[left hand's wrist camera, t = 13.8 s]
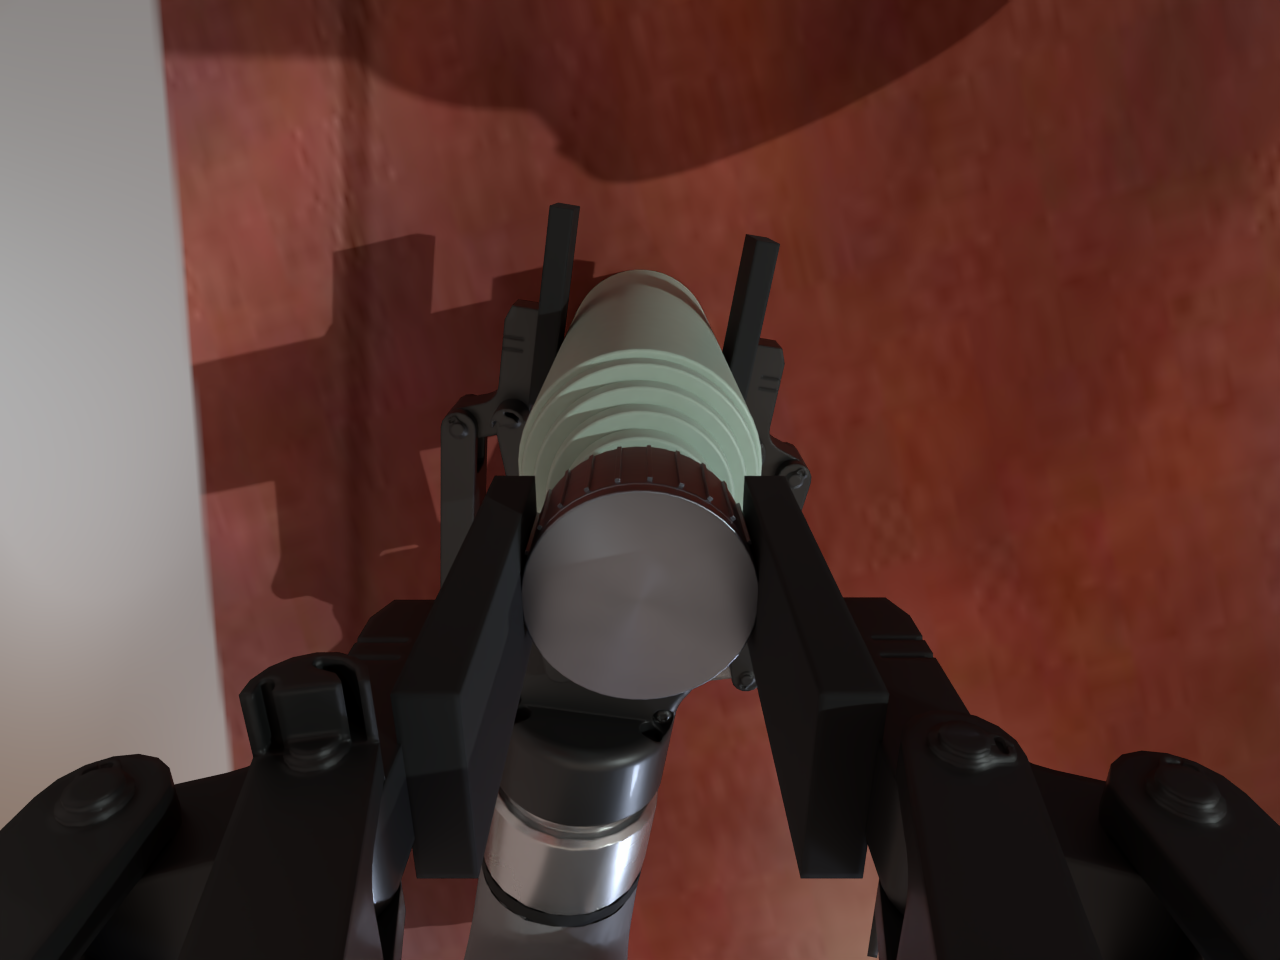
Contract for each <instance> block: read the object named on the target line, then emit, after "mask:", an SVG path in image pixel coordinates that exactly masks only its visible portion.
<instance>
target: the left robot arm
mask: <svg viewBox="0 0 1280 960" xmlns="http://www.w3.org/2000/svg"><path fill="white" fill-rule="evenodd" d="M742 512H743V515H744V519H745V522H746V525H747V529H748V532H749V535H750V538H751V542H752V544H750V548H751V551H752V555H753V558H754V561H755V565H756V568H757V573H758V577H759V585H758V601H757V616H756V624H755V626H754V629H753V631H752V634H751V636H750V638H749V639H748V641H747V645H748V649H749V654H750V658H751V662H752V667H753V671H754V675H755V680H756V684H757V689H758V693H759V697H760V702H761V706H762V711H763V715H764V719H765V724H766V728H767V732H768V737H769V741H770V746H771V750H772V754H773V759H774V763H775V768H776V772H777V776H778V781H779V785H780V789H781V794H782V798H783V803H784V807H785V811H786V816H787V820H788V824H789V829H790V833H791V838H792V842H793V846H794V851H795V855H796V860H797V864H798V868H799V873H800V877H801V878H863V873H864V866H865V859H866V852H867V845H868V847H869V849H870V852H871V855H872V858H873V861H874V864H875V867H876V870H877V873H878V876H879V884H878V890H877V897H876V903H875V909H874V916H873V922H872V929H871V935H870V942H869V948H868V955H867V956H870V957H875V958H877V955H878V954H879V960H1280V826H1279V825H1278V824H1277V823H1276V822H1275V821H1274V820H1273V819H1272V818H1271V817H1270V816H1269V815H1268V814H1266V813H1265V812H1264V811H1263V810H1262V809H1261V808H1260V807H1259V806H1258V805H1257V804H1256V803H1255V802H1254V801H1253V800H1252V799H1251V798H1250V797H1249V796H1248V795H1247V794H1246V793H1244V792H1243V791H1242V790H1241V789H1239V788H1238V787H1237V786H1235V785H1234V784H1233V783H1231V782H1230V781H1229V780H1228V779H1226V778H1225V777H1224V776H1222V775H1220V774H1218V773H1216V772H1214V771H1212V770H1210V769H1208V768H1206V767H1204V766H1202V765H1200V764H1198V763H1196V762H1194V761H1191V760H1188V759H1185V758H1181V757H1178V756H1174V755H1171V754H1168V753H1160V752H1150V751H1138V752H1133V753H1127V754H1122V755H1121V756H1120V757H1119V758H1118V759H1117V760H1115V761H1114V762H1113V763H1112V764H1111V766H1110V770H1109V773H1108V777H1107V780H1106V781H1101V780H1097V779H1092V778H1088V777H1083V776H1079V775H1074V774H1070V773H1065V772H1061V771H1056V770H1052V769H1049V768H1045V767H1042V766H1039V765H1035V764H1032V763H1030V762H1029V761H1028V758H1027V756H1026V755H1025V753H1024V752H1023V750H1022V748H1021V747H1020V745H1019V744H1018V742H1017V741H1016V740H1015V739H1014V738H1012V737H1011V736H1010V735H1009V734H1007V733H1006V732H1005V731H1004V730H1002V729H1001V728H1000V727H999V726H997V725H994V724H992V723H990V722H988V721H986V720H984V719H982V718H979V717H977V716H974V715H970V713H969V712H968V710H967V708H966V707H965V705H964V703H963V702H962V700H961V699H960V697H959V695H958V694H957V692H956V690H955V689H954V687H953V685H952V684H951V682H950V681H949V679H948V677H947V676H946V674H945V672H944V671H943V669H942V668H941V666H940V664H939V663H938V661H937V659H936V658H933V653H932V651H931V650H930V648H929V646H928V645H927V643H926V641H925V640H922V635H921V633H920V632H919V630H918V628H917V627H916V625H915V623H914V622H913V620H912V618H911V617H910V615H908V614H907V613H906V612H904V611H903V610H902V609H900V608H899V607H898V606H896V605H895V604H893V603H892V602H891V601H889V600H888V599H887V598H843V597H842V595H841V592H840V590H839V588H838V586H837V584H836V582H835V580H834V578H833V576H832V574H831V572H830V570H829V567H828V565H827V563H826V561H825V559H824V557H823V555H822V553H821V551H820V549H819V547H818V544H817V542H816V540H815V538H814V536H813V534H812V532H811V530H810V528H809V526H808V524H807V522H806V519H805V517H804V515H803V513H802V511H801V509H800V507H799V505H798V503H797V501H796V499H795V496H794V494H793V492H792V490H791V488H790V486H789V484H788V482H787V480H786V478H785V476H744V493H743V511H742ZM536 514H537V502H536V484H535V476H495V477H494V479H493V481H492V483H491V485H490V487H489V489H488V491H487V493H486V495H485V497H484V500H483V502H482V504H481V506H480V508H479V510H478V512H477V514H476V516H475V518H474V520H473V523H472V525H471V527H470V529H469V531H468V533H467V535H466V537H465V539H464V541H463V543H462V545H461V548H460V550H459V552H458V554H457V556H456V558H455V560H454V562H453V564H452V566H451V568H450V570H449V573H448V575H447V577H446V579H445V581H444V583H443V585H442V587H441V589H440V591H439V593H438V596H437V598H436V600H394V601H392V602H391V603H390V604H388V605H387V606H386V607H384V608H383V609H381V610H380V611H379V612H377V613H376V614H375V615H373V616H372V617H371V618H370V619H369V621H368V622H367V624H366V626H365V627H364V629H363V630H362V632H361V634H360V635H359V637H358V641H357V643H355V644H354V645H353V647H352V649H351V650H350V652H349V654H348V655H347V654H343V653H339V652H316V653H312V654H307V655H302V656H297V657H292V658H290V659H287V660H285V661H283V662H280V663H278V664H275V665H273V666H271V667H268V668H267V669H266V670H264V671H263V672H261V673H260V674H258V675H257V676H256V677H254V678H253V679H251V680H250V681H249V682H248V684H247V685H246V686H245V688H244V689H243V690H242V692H241V693H240V694H239V698H240V702H241V707H242V711H243V715H244V720H245V724H246V728H247V732H248V737H249V741H250V745H251V750H252V754H253V760H252V762H251V765H250V766H248V767H245V768H242V769H238V770H235V771H231V772H228V773H224V774H220V775H215V776H211V777H206V778H202V779H198V780H193V781H188V782H184V783H179V784H175V785H174V782H173V779H172V775H171V772H170V768H169V767H168V766H167V765H166V764H165V763H163V762H162V761H161V760H160V759H159V758H157V757H152V756H146V755H141V754H133V755H124V756H114V757H110V758H107V759H104V760H100V761H97V762H94V763H91V764H88V765H85V766H83V767H81V768H79V769H77V770H75V771H73V772H71V773H69V774H67V775H65V776H63V777H61V778H59V779H57V780H56V781H55V782H53V783H52V784H51V785H50V786H48V787H47V788H46V789H45V790H43V791H42V792H41V793H39V794H38V795H37V796H35V797H34V798H33V799H32V800H31V801H30V802H29V803H28V804H27V805H26V806H25V807H24V808H23V809H22V810H21V811H20V812H19V813H18V814H17V815H16V816H15V817H14V818H13V819H12V820H11V821H10V822H9V823H8V824H6V825H5V826H4V827H3V828H2V829H1V830H0V960H401V956H402V945H403V934H404V923H405V912H406V910H405V903H404V897H403V890H402V884H401V878H402V875H403V872H404V869H405V867H406V864H407V861H408V858H409V855H410V852H411V849H412V848H413V855H414V862H415V869H416V876H417V878H479V875H480V871H481V866H482V862H483V857H484V853H485V849H486V844H487V840H488V835H489V831H490V827H491V822H492V818H493V814H494V809H495V805H496V800H497V796H498V792H499V787H500V783H501V778H502V774H503V770H504V765H505V761H506V757H507V752H508V748H509V743H510V739H511V735H512V730H513V726H514V722H515V717H516V713H517V708H518V704H519V700H520V695H521V691H522V686H523V682H524V678H525V673H526V669H527V665H528V660H529V656H530V651H531V647H532V643H533V641H532V639H531V637H530V635H529V633H528V631H527V628H526V625H525V623H524V620H523V609H522V593H521V578H522V574H523V570H524V566H525V562H526V559H527V556H528V555H524V553H525V550H526V547H527V543H528V540H529V537H530V533H531V530H532V527H533V524H534V520H535V517H536Z"/></svg>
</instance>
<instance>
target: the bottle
mask: <svg viewBox="0 0 1280 960" xmlns="http://www.w3.org/2000/svg"><path fill="white" fill-rule="evenodd" d="M647 445H651V447H655V448H663V449H666V450H670V451H674V452H675V451H676V450H677V451H680V454H682V455H685V456H687V457H690V458H691V459H693V460H695V461H697V462H698V463H700V464H701V463H704V464H705V465H706V468H707V469H709V470H710V471H711V472H713V473H714V474H715V475H716V476H717V477H718V478H719V479H720V480H721V481H725V482H726V484H727V487H728V490H729V492H730V493H731V495H732V497H733V499H734V500H735V502H736V504H737V503H740V506H741V509H742V511H743V493H744V476H761V470H762V455H761V445H760V441H759V436H758V432H757V429H756V426H755V424H754V421H753V418H752V416H751V414H750V412H749V410H748V407H747V405H746V403H745V401H744V399H743V397H742V394H741V392H740V390H739V388H738V386H737V384H736V381H735V379H734V377H733V375H732V373H731V371H730V368H729V366H728V364H727V362H726V360H725V358H724V355H723V353H722V351H721V349H720V347H719V345H718V342H717V340H716V338H715V336H714V334H713V331H712V329H711V327H710V325H709V323H708V321H707V318H706V316H705V314H704V312H703V310H702V308H701V306H700V304H699V302H698V301H697V299H696V298H695V297H694V295H693V294H692V293H691V292H690V291H689V290H688V289H687V288H686V287H685V286H684V285H683V284H681V283H680V282H679V281H677V280H675V279H674V278H672V277H670V276H667V275H665V274H663V273H659V272H656V271H650V270H630V271H625V272H621V273H618V274H615V275H613V276H610V277H608V278H607V279H605V280H603V281H602V282H600V283H599V284H598V285H596V286H595V287H594V288H593V289H592V290H591V291H590V292H589V293H588V294H587V296H586V297H585V298H584V300H583V301H582V303H581V305H580V306H579V308H578V310H577V313H576V315H575V317H574V319H573V321H572V323H571V326H570V328H569V330H568V332H567V334H566V336H565V339H564V341H563V343H562V345H561V347H560V349H559V352H558V354H557V356H556V358H555V360H554V362H553V365H552V367H551V369H550V371H549V373H548V375H547V378H546V380H545V382H544V384H543V386H542V388H541V391H540V393H539V395H538V397H537V399H536V401H535V404H534V406H533V408H532V410H531V412H530V414H529V417H528V419H527V422H526V424H525V427H524V429H523V433H522V437H521V442H520V447H519V458H518V465H519V476H535V484H536V502H537V512H538V513H540V512H541V510H542V507H543V505H544V502H545V498H546V495H547V492H548V490H549V489H551V490H552V489H553V488H554V487H555V485H556V484H557V483H558V482H559V481H560V479H562V478H563V477H564V476H565V472H566V471H567V470H568V469H569V470H572V469H573V468H574V467H576V466H577V465H579V464H580V463H582V462H583V461H585V460H587V459H589V456H591V455H594V456H595V455H598V454H601V453H603V452H606V451H610V450H614V449H617V447H620V446H622V448H625V447H634V446H640V447H647Z"/></svg>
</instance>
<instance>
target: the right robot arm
mask: <svg viewBox="0 0 1280 960" xmlns="http://www.w3.org/2000/svg"><path fill="white" fill-rule="evenodd" d="M579 210H580V206H575V205H569V204H563V203H556V204H553V205H550V208H549V218H548V227H547V236H546V245H545V255H544V264H543V273H542V282H541V291H540V301H539V302H532V301H526V300H520V299H518V300H517V301H516V302H515V303H514V304H513V305H512V307H511V309H510V311H509V313H508V314H507V316H506V318H505V323H504V334H503V335H504V336H503V345H502V356H501V367H500V377H499V387H498V390H496V391H494V392H492V393H488V394H483V395H478V396H477V395H474V394H469V395H465V396H463V397H461V398H460V399H459V401H458V402H457V403H456V404H455V405H454V407H453V408H452V409H451V410H450V412H449V413H448V414H447V416H446V417H445V418H444V420H443V421H442V425H441V587H442V585H443V583H444V581H445V579H446V577H447V575H448V573H449V570H450V568H451V566H452V564H453V562H454V560H455V558H456V556H457V554H458V552H459V550H460V548H461V545H462V543H463V541H464V539H465V537H466V535H467V533H468V531H469V529H470V527H471V525H472V523H473V520H474V518H475V516H476V514H477V512H478V510H479V508H480V506H481V504H482V502H483V500H484V497H485V495H486V470H487V436H492V435H497V437H498V442H499V446H500V451H501V455H502V459H503V464H504V468H505V473H506V476H519V465H518V458H519V447H520V442H521V437H522V433H523V429H524V427H525V424H526V422H527V419H528V417H529V414H530V412H531V410H532V408H533V406H534V404H535V401H536V399H537V397H538V395H539V393H540V391H541V388H542V386H543V384H544V382H545V380H546V378H547V375H548V373H549V371H550V369H551V367H552V365H553V362H554V360H555V358H556V356H557V354H558V352H559V349H560V347H561V345H562V343H563V341H564V333H565V325H566V316H567V308H568V300H569V292H570V284H571V275H572V267H573V259H574V251H575V243H576V234H577V226H578V218H579ZM779 246H780V244H779V243H777V242H775V241H773V240H771V239H769V238H766V237H760V236H754V235H748V234H746V237H745V242H744V247H743V251H742V256H741V261H740V266H739V271H738V276H737V281H736V286H735V291H734V296H733V301H732V306H731V311H730V316H729V321H728V326H727V331H726V336H725V341H724V346H723V351H722V353H723V355H724V358H725V360H726V362H727V364H728V366H729V368H730V371H731V373H732V375H733V377H734V379H735V381H736V384H737V386H738V388H739V390H740V392H741V394H742V397H743V399H744V401H745V403H746V405H747V407H748V410H749V412H750V414H751V416H752V418H753V421H754V424H755V426H756V429H757V432H758V436H759V441H760V445H761V455H762V470H761V476H785V478H786V480H787V482H788V484H789V486H790V488H791V490H792V492H793V494H794V496H795V499H796V501H797V503H798V505H799V507H800V509H801V511H802V508H803V505H804V502H805V499H806V496H807V492H808V489H809V486H810V483H811V474H810V471H809V470H808V468H807V466H806V464H805V463H804V461H803V459H802V457H801V456H800V454H799V452H798V450H797V449H796V448H795V446H794V445H792V444H790V443H788V442H782V441H780V440H778V439H776V438H774V437H773V436H771V435H770V434H769V431H770V425H771V420H772V416H773V412H774V407H775V403H776V399H777V394H778V390H779V386H780V380H781V377H782V373H783V369H784V364H785V363H784V357H783V351H782V348H781V347H780V345H779V344H778V343H777V342H776V341H775V340H769V339H763V338H760V334H761V329H762V325H763V320H764V315H765V311H766V306H767V302H768V297H769V292H770V288H771V283H772V279H773V274H774V269H775V265H776V260H777V256H778V251H779ZM729 678H731V679H732V682H733V685H734V686H735V687H736V688H737V689H739V690H741V691H750V690H754V689H755V688H757V684H756V680H755V675H754V671H753V667H752V662H751V658H750V654H749V649H748V645H747V643H746V645H745V646H744V648H743V649H742V651H741V652H740V653H739V655H738V656H737V657H736V659H735V660H734V661H733V662H732V663H731V664H730V665H729V666H728V667H727V668H726V669H724V670H723V671H722V672H721V673H719V674H718V675H717V676H715V677H714V678H712V679H711V680H720V679H729ZM709 681H710V680H709ZM690 692H691V690H689V691H687V692H684V693H680V694H677V695H674V696H669V697H664V698H658V699H648V700H631V699H623V698H615V697H611V696H607V695H603V694H600V693H597V692H594V691H591V690H588V689H586V688H584V687H582V686H580V685H578V684H576V683H574V682H573V681H571V680H570V679H568V678H566V677H565V676H563V675H562V674H561V673H560V672H559V671H557V670H556V669H555V668H554V667H552V665H551V664H550V663H549V662H548V661H547V660H546V659H545V658H544V657H543V656H542V654H541V653H540V652H539V650H538V649H537V647H536V646H535V645H534V643H532V647H531V651H530V656H529V660H528V665H527V669H526V673H525V678H524V682H523V686H522V691H521V695H520V700H519V704H518V708H517V713H516V717H515V722H514V726H513V730H512V735H511V739H510V743H509V748H508V752H507V757H506V761H505V765H504V770H503V774H502V778H501V783H500V787H499V792H498V796H497V800H496V805H495V809H494V814H493V818H492V822H491V827H490V831H489V835H488V840H487V844H486V849H485V853H484V857H483V862H482V866H481V871H480V875H479V879H478V886H477V893H476V900H475V907H474V914H473V919H472V925H471V930H470V935H469V940H468V945H467V949H466V954H465V958H464V960H627V955H628V940H629V931H630V924H631V918H632V912H633V906H634V900H635V895H636V889H637V884H638V880H639V877H640V873H641V868H642V864H643V861H644V858H645V854H646V849H647V844H648V840H649V835H650V831H651V826H652V822H653V817H654V813H655V808H656V803H657V794H658V788H659V785H660V783H661V778H662V774H663V769H664V764H665V760H666V755H667V751H668V746H669V741H670V737H671V732H672V727H673V723H674V718H675V714H676V710H677V708H678V706H679V704H680V703H681V701H682V700H683V699H684V698H685V697H686V696H687V695H688V694H689V693H690Z"/></svg>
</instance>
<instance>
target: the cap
mask: <svg viewBox="0 0 1280 960" xmlns="http://www.w3.org/2000/svg"><path fill="white" fill-rule="evenodd" d="M750 544H752V542H751V538H750V535H749V532H748V529H747V525H746V522H745V519H744V515H743V512H742V509H741V506H740V503H737V504H736V502H735V500H734V499H733V497H732V495H731V493H730V492H729V490H728V487H727V484H726V482H725V481H721V480H720V479H719V478H718V477H717V476H716V475H715V474H714V473H713V472H711V471H710V470H709V469H707V468H706V465H705V464H704V463H701V464H700V463H698V462H697V461H695V460H693V459H691V458H690V457H687V456H685V455H682V454H680V451H677V450H676V451H675V452H674V451H670V450H666V449H663V448H655V447H651V445H647V447H640V446H634V447H625V448H622V446H620V447H617V449H614V450H610V451H606V452H603V453H601V454H598V455H595V456H594V455H591V456H589V459H587V460H585V461H583V462H582V463H580V464H579V465H577V466H576V467H574V468H573V469H572V470H569V469H568V470H567V471H566V472H565V476H564V477H563V478H562V479H560V481H559V482H558V483H557V484H556V485H555V487H554V488H553V489H552V490H551V489H549V490H548V492H547V495H546V498H545V502H544V505H543V507H542V510H541V512H540V513H538V512H537V514H536V517H535V520H534V524H533V527H532V530H531V533H530V537H529V540H528V543H527V547H526V550H525V553H524V555H528V556H527V559H526V562H525V566H524V570H523V574H522V578H521V593H522V609H523V620H524V623H525V625H526V628H527V631H528V633H529V635H530V637H531V639H532V641H533V643H534V645H535V646H536V647H537V649H538V650H539V652H540V653H541V654H542V656H543V657H544V658H545V659H546V660H547V661H548V662H549V663H550V664H551V665H552V667H554V668H555V669H556V670H557V671H559V672H560V673H561V674H562V675H563V676H565V677H566V678H568V679H570V680H571V681H573V682H574V683H576V684H578V685H580V686H582V687H584V688H586V689H588V690H591V691H594V692H597V693H600V694H603V695H607V696H611V697H615V698H623V699H631V700H648V699H658V698H664V697H669V696H674V695H677V694H680V693H684V692H687V691H689V690H692V689H694V688H696V687H698V686H700V685H702V684H704V683H706V682H707V681H709V680H711V679H712V678H714V677H715V676H717V675H718V674H719V673H721V672H722V671H723V670H724V669H726V668H727V667H728V666H729V665H730V664H731V663H732V662H733V661H734V660H735V659H736V657H737V656H738V655H739V653H740V652H741V651H742V649H743V648H744V646H745V645H746V643H747V641H748V639H749V638H750V636H751V634H752V631H753V629H754V626H755V624H756V616H757V601H758V585H759V577H758V573H757V568H756V565H755V561H754V558H753V555H752V551H751V548H750Z"/></svg>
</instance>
